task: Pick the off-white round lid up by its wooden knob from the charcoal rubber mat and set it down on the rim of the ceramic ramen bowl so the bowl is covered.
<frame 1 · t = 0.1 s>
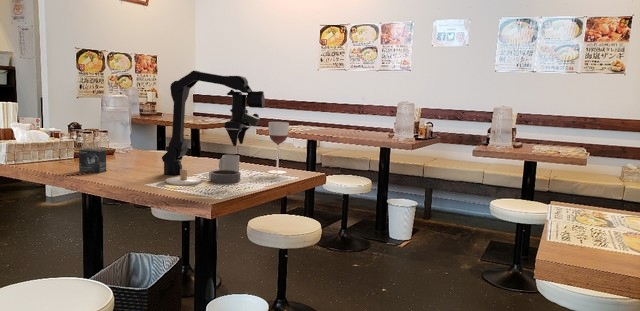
hand: (238, 144, 202), 15 cm above the table, fingers open, 9 cm apart
box: (92, 172, 208), on the table
lid: (183, 182, 191), point 1 cm above the table, touching mat
wineglass: (277, 172, 227), on the table
mat: (183, 183, 191), on the table
bowl: (224, 182, 197), on the table
cup: (227, 176, 212), on the table
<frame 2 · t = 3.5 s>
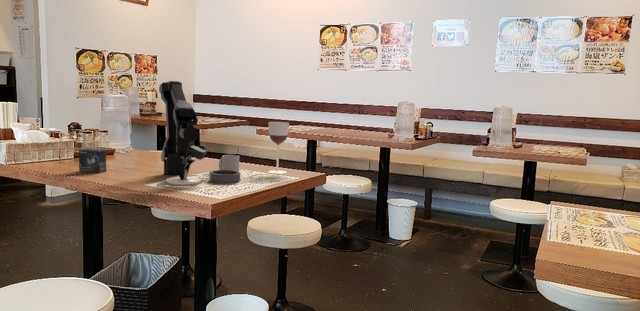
hand: (183, 179, 191), 2 cm above the table, fingers closed on lid, 3 cm apart
lid: (183, 182, 191), point 1 cm above the table, touching gripper, mat
everything else where it was.
when the fingers open (6 cm above the table, at t = 6.6 s): lid drops 1 cm, resting on bowl.
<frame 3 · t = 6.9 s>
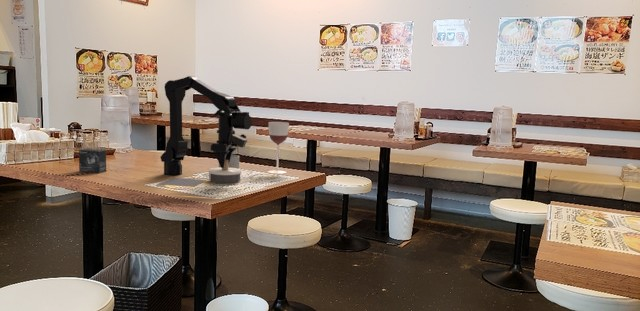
hand: (224, 166, 197), 6 cm above the table, fingers open, 6 cm apart
lid: (224, 172, 197), point 4 cm above the table, touching bowl
everything else where it was.
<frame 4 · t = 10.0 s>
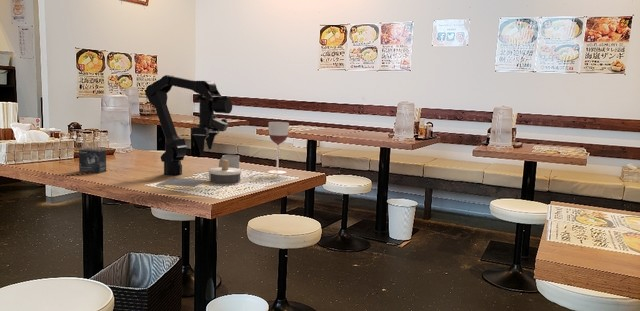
hand: (206, 150, 200), 12 cm above the table, fingers open, 9 cm apart
nothing on the table moved.
at the end: lid 0.0 cm off-centre on the bowl, point 4.0 cm above the bowl's base; lid tilted 0°; the gripper is holding nothing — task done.
